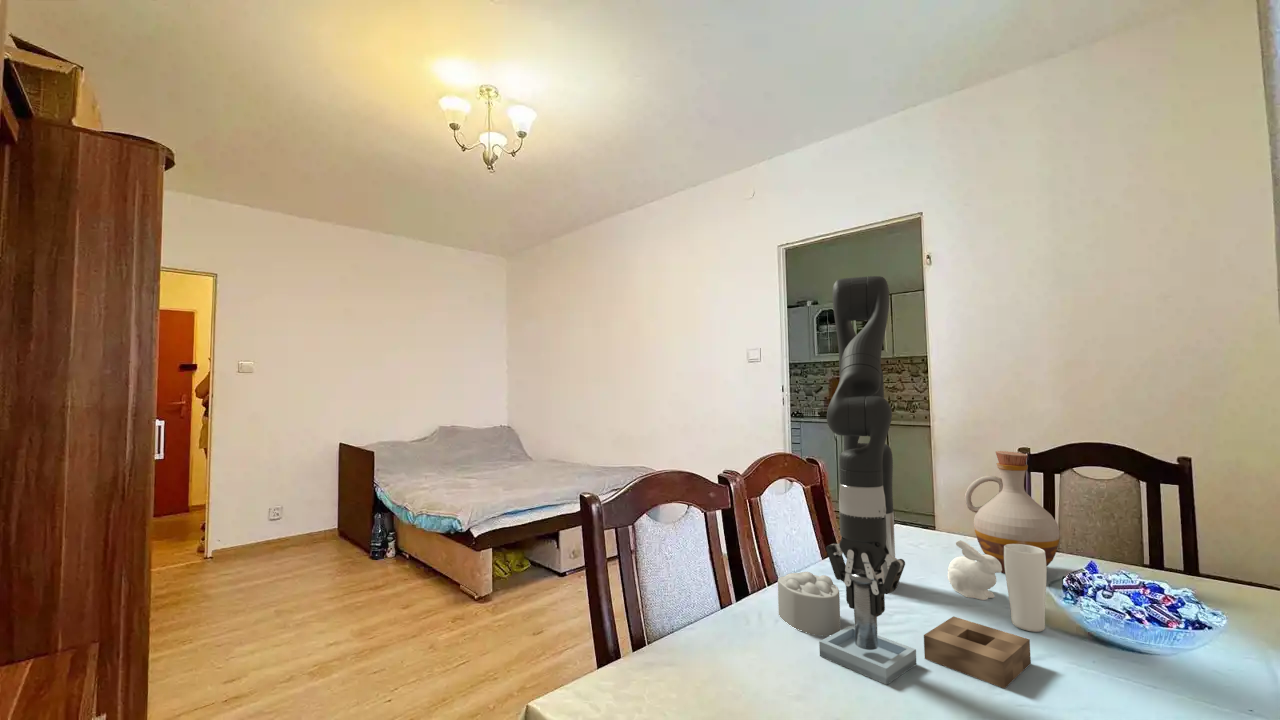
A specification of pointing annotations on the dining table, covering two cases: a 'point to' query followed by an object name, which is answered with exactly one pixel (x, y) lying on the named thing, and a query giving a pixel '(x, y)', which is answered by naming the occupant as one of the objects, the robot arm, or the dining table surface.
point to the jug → (1012, 513)
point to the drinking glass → (1026, 585)
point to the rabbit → (973, 573)
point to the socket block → (978, 651)
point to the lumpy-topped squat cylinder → (809, 603)
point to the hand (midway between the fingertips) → (865, 610)
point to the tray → (868, 656)
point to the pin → (864, 612)
